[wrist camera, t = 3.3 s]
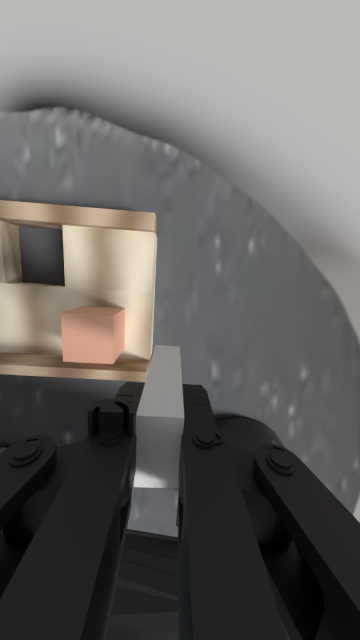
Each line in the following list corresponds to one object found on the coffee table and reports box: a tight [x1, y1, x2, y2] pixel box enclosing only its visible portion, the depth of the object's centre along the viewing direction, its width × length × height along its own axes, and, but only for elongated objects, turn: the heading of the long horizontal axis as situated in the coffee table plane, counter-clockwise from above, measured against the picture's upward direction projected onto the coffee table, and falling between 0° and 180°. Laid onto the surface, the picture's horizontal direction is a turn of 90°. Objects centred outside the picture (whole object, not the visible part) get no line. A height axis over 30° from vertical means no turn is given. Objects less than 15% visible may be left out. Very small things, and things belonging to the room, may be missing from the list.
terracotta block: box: [61, 306, 125, 364], centre depth 20 cm, size 4×4×4 cm
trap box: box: [0, 200, 158, 382], centre depth 21 cm, size 30×16×6 cm, turn 86°
